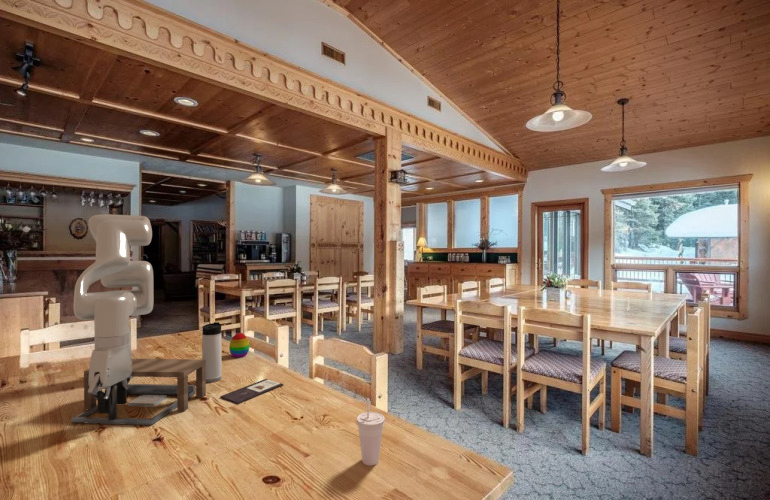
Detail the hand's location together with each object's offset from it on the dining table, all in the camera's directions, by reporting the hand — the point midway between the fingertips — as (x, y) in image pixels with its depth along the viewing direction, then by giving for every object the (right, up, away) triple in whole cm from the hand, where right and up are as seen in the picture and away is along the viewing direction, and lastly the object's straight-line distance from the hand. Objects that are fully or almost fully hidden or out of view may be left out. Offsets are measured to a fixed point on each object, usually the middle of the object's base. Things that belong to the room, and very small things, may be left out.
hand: (112, 407), depth 101 cm
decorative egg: (+10, -4, +62) cm, 63 cm away
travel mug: (+11, -4, +34) cm, 36 cm away
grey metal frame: (0, -4, +10) cm, 11 cm away
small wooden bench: (+1, -4, +14) cm, 15 cm away
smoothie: (+70, -5, -17) cm, 73 cm away
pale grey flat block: (+1, -5, +14) cm, 15 cm away
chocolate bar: (+30, -5, +23) cm, 38 cm away
